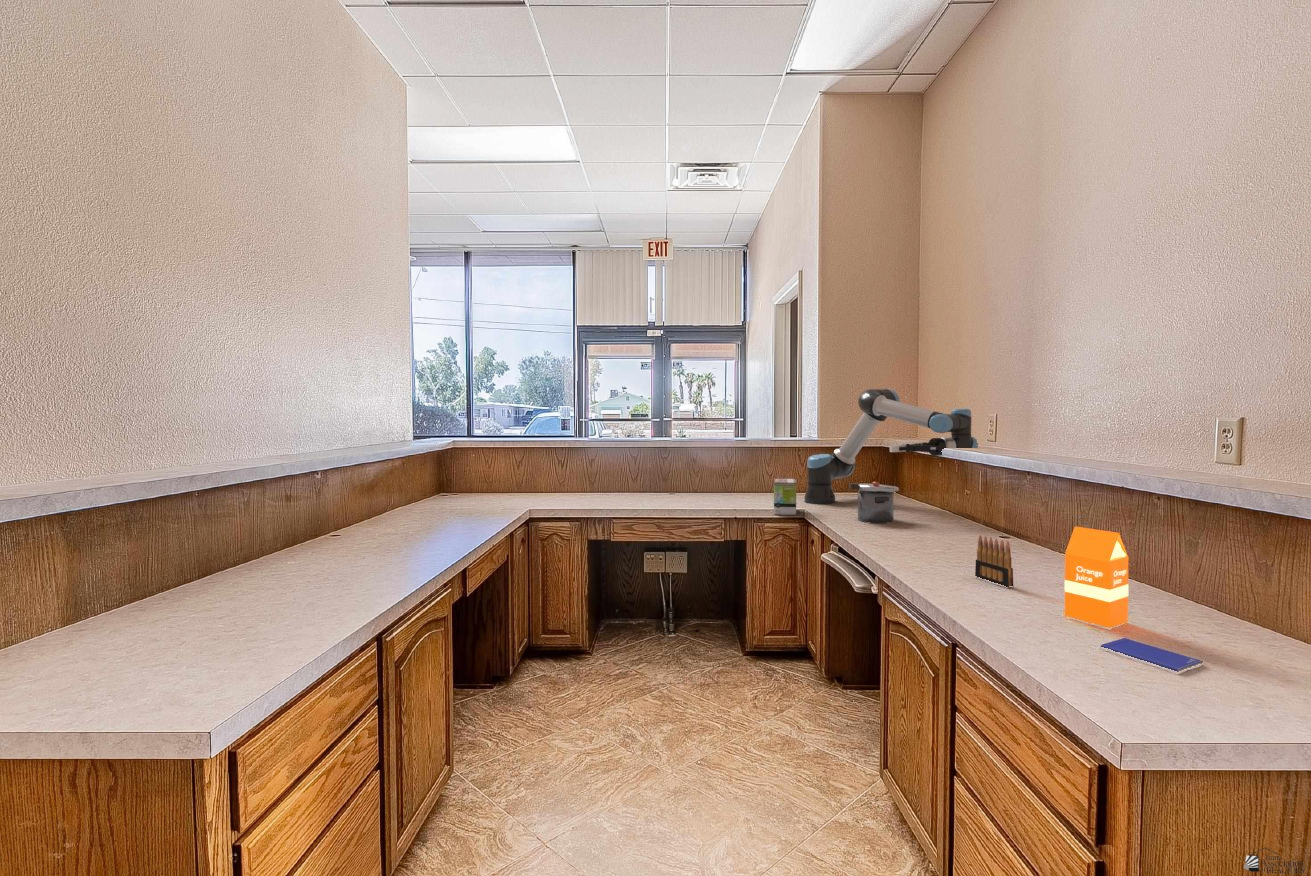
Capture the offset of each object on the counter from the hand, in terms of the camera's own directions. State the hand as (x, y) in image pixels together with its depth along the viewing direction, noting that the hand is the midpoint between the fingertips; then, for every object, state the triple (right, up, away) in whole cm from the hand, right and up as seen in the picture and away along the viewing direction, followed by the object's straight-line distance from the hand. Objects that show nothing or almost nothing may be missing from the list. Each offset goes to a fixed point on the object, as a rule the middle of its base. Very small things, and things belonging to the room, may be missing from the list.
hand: (890, 448), depth 247 cm
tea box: (-38, -30, +27) cm, 55 cm away
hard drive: (-5, -37, -135) cm, 141 cm away
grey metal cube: (-5, -30, +3) cm, 30 cm away
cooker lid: (-6, -17, +2) cm, 18 cm away
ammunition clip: (-7, -34, -87) cm, 94 cm away
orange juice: (-1, -36, -117) cm, 122 cm away
